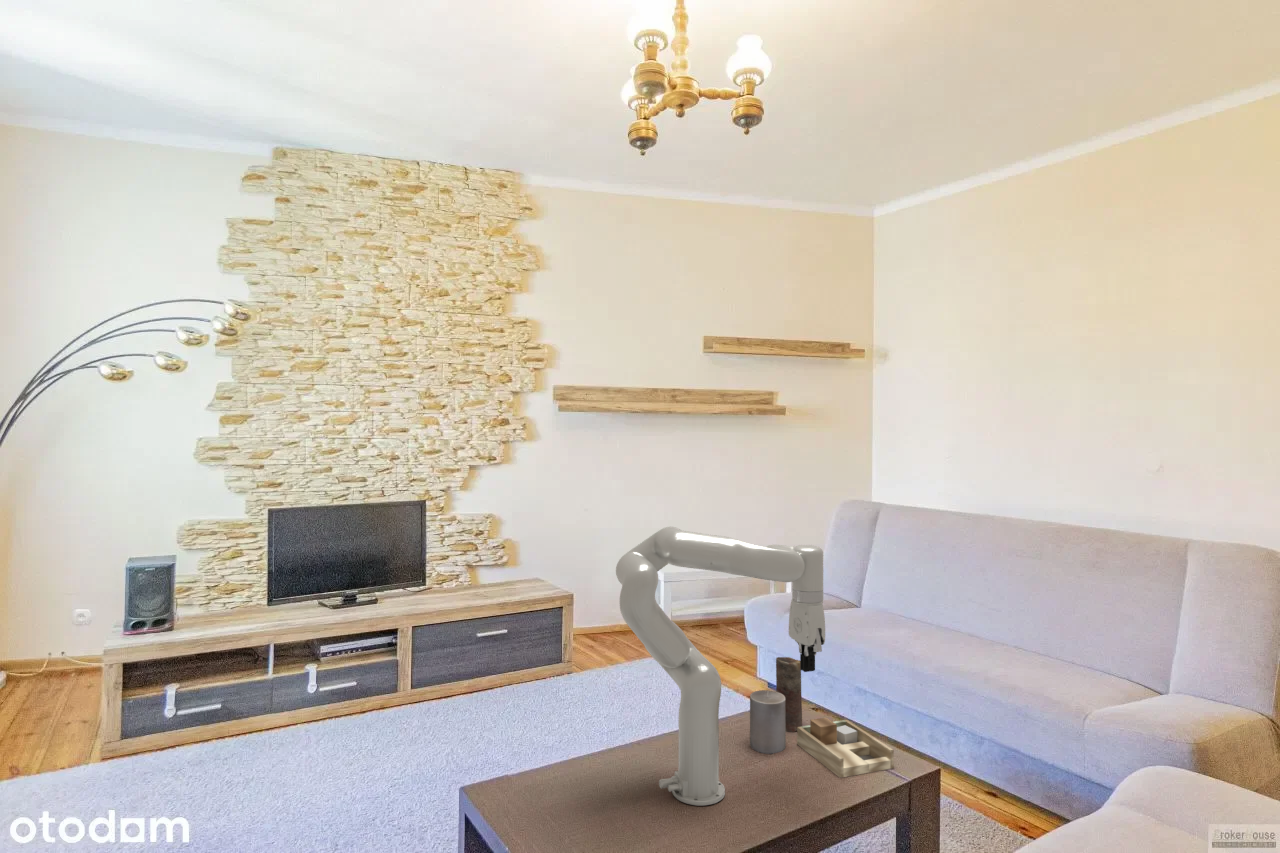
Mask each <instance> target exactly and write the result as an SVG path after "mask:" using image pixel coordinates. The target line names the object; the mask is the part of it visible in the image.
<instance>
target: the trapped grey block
mask: <svg viewBox="0 0 1280 853" xmlns="http://www.w3.org/2000/svg"><path fill="white" fill-rule="evenodd" d="M837 742H839V743H840V744H842V745H844V744H850V743H856V742H857V731H856V730H854V729H852V728H850V727H848V726H846V725H844V726H840V727H837Z"/></svg>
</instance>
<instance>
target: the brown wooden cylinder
mask: <svg viewBox="0 0 1280 853" xmlns="http://www.w3.org/2000/svg"><path fill="white" fill-rule="evenodd" d="M775 671H776V672H775V677H776V678H775V680H776V681H775V683H776V686H775V687H776V692H779V693H781V694H783V695H784V696H785V710H786V711H785V712H786V713H785V723H786V733H795V732H797V727H801V726H803V706H802V704H803V703H802V699H803V698H802V670H801V669H800V659H795V658H793V657H790V656H787V657H786V656H785V657H784V656H782V657H780V656H778V657H776V658H775Z"/></svg>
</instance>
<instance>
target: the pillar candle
mask: <svg viewBox="0 0 1280 853" xmlns="http://www.w3.org/2000/svg"><path fill="white" fill-rule="evenodd" d="M785 711H786V710H785V696H784V695H783V694H781V693H779V692H776V691H775V690H770V689H768V690H767V689H762V690H761V689H760V690H756V691H752V693H750V694H749V746H750V747H751V749H752V750H753V751H755V752H757V753H761V754H766V755H767V754H769V755H773V754H777V753H781V752H783V751H784V750H785V749H786V747H787V746H786V741H787V740H786V736H787V735H786V733H787V732H786V723H785V713H786V712H785Z"/></svg>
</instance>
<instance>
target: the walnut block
mask: <svg viewBox="0 0 1280 853" xmlns="http://www.w3.org/2000/svg"><path fill="white" fill-rule="evenodd" d="M809 723H810V734H811V735H813V736H814V737H815V738H817V739H818V740H819V741H821V742H822V743H823V744H825V745H829V744H836V743H837V724H835V723H834V721H832V720H830V719H829V718H828V717H820V718H814V719H810V722H809Z"/></svg>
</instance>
